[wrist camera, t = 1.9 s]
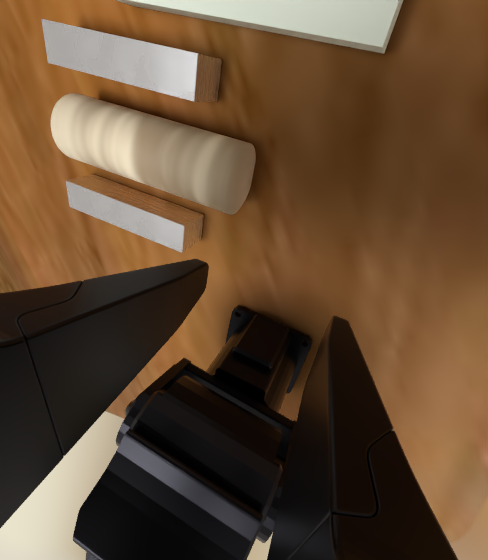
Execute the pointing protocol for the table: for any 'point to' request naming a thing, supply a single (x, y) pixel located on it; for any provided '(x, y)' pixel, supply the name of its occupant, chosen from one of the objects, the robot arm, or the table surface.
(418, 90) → the table surface
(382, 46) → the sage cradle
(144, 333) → the robot arm
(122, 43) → the steel guide
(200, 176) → the maple axle
